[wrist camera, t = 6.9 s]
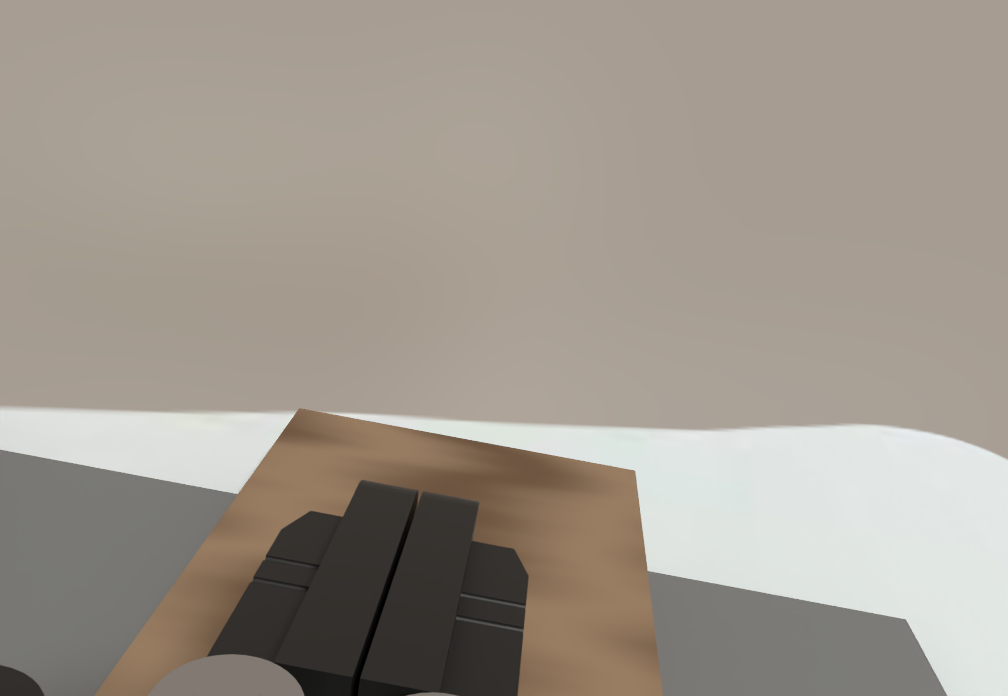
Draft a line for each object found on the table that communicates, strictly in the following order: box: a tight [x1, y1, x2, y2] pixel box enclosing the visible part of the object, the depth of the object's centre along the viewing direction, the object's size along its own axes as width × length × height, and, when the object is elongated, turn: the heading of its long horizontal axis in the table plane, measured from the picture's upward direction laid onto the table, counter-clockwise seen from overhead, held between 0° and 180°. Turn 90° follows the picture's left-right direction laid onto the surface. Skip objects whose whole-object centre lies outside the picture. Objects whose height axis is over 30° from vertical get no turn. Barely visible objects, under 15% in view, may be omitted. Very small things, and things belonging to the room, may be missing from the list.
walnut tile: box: [94, 409, 663, 696], centre depth 19 cm, size 9×2×13 cm
